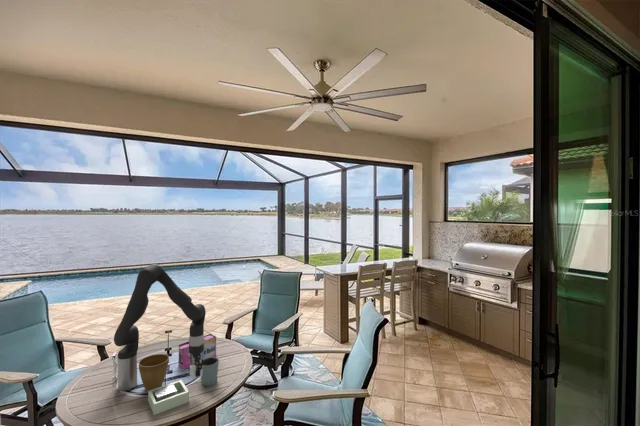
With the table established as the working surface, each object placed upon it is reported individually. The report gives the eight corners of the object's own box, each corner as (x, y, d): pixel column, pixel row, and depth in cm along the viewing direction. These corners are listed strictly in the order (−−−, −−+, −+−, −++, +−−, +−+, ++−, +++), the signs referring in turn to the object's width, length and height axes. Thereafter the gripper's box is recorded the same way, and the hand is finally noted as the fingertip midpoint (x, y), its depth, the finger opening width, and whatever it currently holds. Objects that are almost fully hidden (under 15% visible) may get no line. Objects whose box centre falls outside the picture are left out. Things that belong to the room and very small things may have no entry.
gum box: (182, 370, 185) (182, 349, 185) (176, 366, 190) (176, 345, 190) (216, 356, 204) (216, 336, 204) (210, 353, 209) (210, 333, 209)
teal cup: (200, 388, 167) (200, 367, 167) (199, 379, 176) (199, 358, 176) (219, 384, 171) (219, 363, 171) (217, 375, 180) (217, 355, 180)
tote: (148, 402, 154) (148, 390, 154) (181, 390, 164) (181, 379, 164) (154, 416, 143) (154, 404, 143) (189, 403, 154) (189, 391, 154)
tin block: (154, 402, 153) (154, 391, 153) (173, 395, 159) (173, 384, 159) (157, 409, 147) (157, 397, 147) (176, 402, 153) (176, 390, 153)
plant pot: (163, 395, 160) (163, 365, 161) (133, 398, 158) (133, 367, 158) (172, 380, 175) (172, 352, 175) (145, 382, 173) (145, 354, 173)
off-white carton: (189, 375, 162) (189, 365, 162) (199, 371, 165) (199, 362, 165) (192, 379, 158) (192, 369, 158) (202, 375, 161) (202, 366, 161)
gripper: (185, 340, 164) (184, 370, 164) (193, 349, 153) (193, 382, 153) (199, 336, 169) (198, 366, 169) (208, 345, 158) (207, 377, 158)
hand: (196, 374), depth 161 cm, fingers closed on off-white carton, 5 cm apart
